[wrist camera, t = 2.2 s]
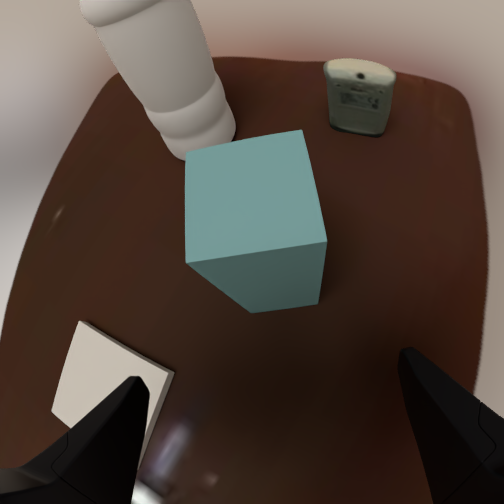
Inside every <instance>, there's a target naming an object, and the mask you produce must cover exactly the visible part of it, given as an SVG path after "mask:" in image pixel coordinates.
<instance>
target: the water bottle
mask: <svg viewBox="0 0 504 504" xmlns="http://www.w3.org/2000/svg"><path fill="white" fill-rule="evenodd" d="M80 9H81V13H82V15H83V17H84V19H85V20H86V21H87V22H88V23H89V24H91V25H93V26H94V28H95V31H96V33H97V35H98V37H99V39H100V41H101V43H102V44H103V47H104V48H105V50H106V52H107V53H108V55H109V57H110V59H111V60H112V62H113V63H114V65H115V66H116V68H117V70H118V71H119V73H120V74H121V76H122V77H123V79H124V80H125V82H126V83H127V85H128V86H129V88H130V89H131V90H132V92H133V93H134V94H135V96H136V97H137V98H138V99H139V101H140V102H141V103H142V104H143V105H144V108H145V111H146V113H147V115H148V117H149V119H150V120H151V122H152V123H153V125H154V126H155V127H156V128H157V129H158V130H159V131H160V133H161V136H162V138H163V140H164V142H165V143H166V145H167V147H168V148H169V150H170V151H171V152H172V154H173V155H174V156H176V157H177V158H179V159H181V160H184V161H186V152H189V151H193V150H197V149H202V148H206V147H210V146H215V145H220V144H224V143H229V142H231V141H232V139H233V137H234V134H235V130H236V124H235V120H234V116H233V114H232V111H231V109H230V107H229V105H228V103H227V101H226V99H225V93H224V89H223V86H222V83H221V81H220V79H219V77H218V75H217V73H216V72H215V71H214V66H213V62H212V58H211V54H210V51H209V47H208V44H207V42H206V38H205V36H204V33H203V30H202V28H201V25H200V22H199V19H198V17H197V14H196V12H195V10H194V7H193V5H192V3H191V1H190V0H80Z"/></svg>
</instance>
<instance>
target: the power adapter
mask: <svg viewBox="0 0 504 504" xmlns="http://www.w3.org/2000/svg"><path fill="white" fill-rule="evenodd" d="M324 73H325V76H326V80H327V92H328V104H329V121H330V125H331V127H332V128H333V129H335V130H337V131H339V132H347V133H354V134H359V135H365V136H371V137H380V136H381V135H382V134H383V132H384V130H385V127H386V124H387V120H388V117H389V113H390V108H391V101H392V93H393V86H394V83H395V81H396V73H395V72H394V71H393V70H391V69H390V68H388V67H386V66H383V65H381V64H378V63H375V62H371V61H366V60H360V59H349V58H347V59H346V58H345V59H335V60H330V61H328V62H326V63H325V64H324Z"/></svg>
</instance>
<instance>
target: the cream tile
mask: <svg viewBox="0 0 504 504" xmlns="http://www.w3.org/2000/svg"><path fill="white" fill-rule="evenodd" d="M174 373H175V372H173V371H171V370H169V369H167V368H165V367H163V366H161V365H159V364H157V363H155V362H154V361H152V360H150V359H148V358H146V357H144V356H142V355H141V354H139V353H137V352H135V351H134V350H132V349H130V348H128V347H127V346H125V345H123V344H121V343H120V342H118V341H116V340H115V339H113V338H111V337H110V336H108V335H106V334H105V333H103V332H102V331H100V330H98V329H97V328H95V327H94V326H92V325H90V324H89V323H87V322H83V321H79V323H78V325H77V328H76V331H75V334H74V337H73V340H72V343H71V346H70V349H69V352H68V355H67V358H66V361H65V364H64V368H63V371H62V374H61V378H60V381H59V385H58V389H57V392H56V396H55V400H54V404H53V408H52V412H53V413H54V414H55V415H56V416H57V417H58V418H59V419H60V420H62V421H63V422H64V423H65V424H66V425H67V426H69V427H70V428H72V427H73V426H74V425H75V424H76V423H77V422H79V421H80V420H81V419H82V418H83V417H84V416H85V415H86V414H88V413H89V412H90V411H91V410H92V409H93V408H94V407H95V406H97V405H98V404H99V403H100V402H101V401H102V400H103V399H104V398H106V397H107V396H108V395H109V394H110V393H111V392H112V391H113V390H114V389H116V388H117V387H118V386H119V385H120V384H121V383H122V382H123V381H124V380H126V379H127V378H128V377H129V376H140V377H141V378H142V379H143V381H144V383H145V384H146V386H147V387H148V389H149V392H150V400H149V408H148V417H147V426H146V432H145V437H144V441H143V446H142V450H141V455H140V460H139V464H138V469H139V467H140V464H141V461H142V458H143V456H144V453H145V450H146V447H147V445H148V442H149V439H150V436H151V434H152V431H153V428H154V426H155V423H156V420H157V418H158V415H159V412H160V410H161V407H162V404H163V402H164V399H165V397H166V394H167V391H168V389H169V386H170V384H171V381H172V378H173V376H174ZM138 469H137V470H138Z"/></svg>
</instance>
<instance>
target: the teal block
mask: <svg viewBox="0 0 504 504" xmlns="http://www.w3.org/2000/svg"><path fill="white" fill-rule="evenodd" d="M326 246H327V238H326V233H325V228H324V223H323V218H322V213H321V209H320V204H319V199H318V195H317V190H316V186H315V181H314V177H313V173H312V168H311V164H310V160H309V156H308V152H307V148H306V144H305V140H304V136H303V132H302V130H297V131H291V132H284V133H278V134H272V135H266V136H260V137H255V138H249V139H244V140H239V141H234V142H229V143H224V144H220V145H215V146H210V147H206V148H202V149H197V150H193V151H189V152H186V165H185V247H186V263H187V264H188V265H189V266H190V267H192V268H193V269H194V270H195V271H197V272H198V273H199V274H201V275H202V276H203V277H204V278H206V279H207V280H208V281H210V282H211V283H212V284H213V285H215V286H216V287H217V288H219V289H220V290H221V291H223V292H224V293H225V294H226V295H228V296H229V297H230V298H232V299H233V300H234V301H236V302H237V303H238V304H240V305H241V306H242V307H244V308H245V309H246V310H248V311H249V312H250V313H257V312H265V311H273V310H280V309H287V308H295V307H301V306H308V305H315V304H318V300H319V294H320V288H321V281H322V275H323V268H324V261H325V254H326Z"/></svg>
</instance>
